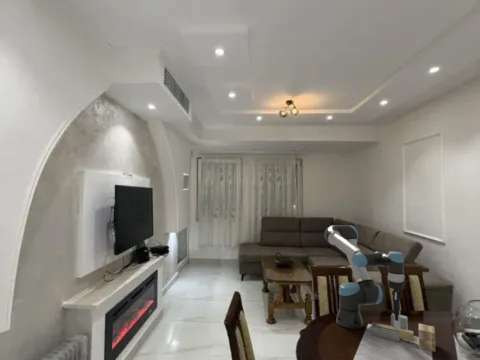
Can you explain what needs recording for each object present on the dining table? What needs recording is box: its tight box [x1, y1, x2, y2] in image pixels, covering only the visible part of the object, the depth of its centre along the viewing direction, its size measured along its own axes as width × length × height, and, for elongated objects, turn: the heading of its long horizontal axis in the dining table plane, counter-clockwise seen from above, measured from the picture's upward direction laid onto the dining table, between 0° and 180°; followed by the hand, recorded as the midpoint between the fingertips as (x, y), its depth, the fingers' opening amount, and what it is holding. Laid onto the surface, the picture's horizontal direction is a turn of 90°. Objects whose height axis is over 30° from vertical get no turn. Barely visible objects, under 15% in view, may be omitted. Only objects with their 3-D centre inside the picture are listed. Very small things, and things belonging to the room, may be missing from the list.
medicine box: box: [390, 313, 409, 330], centre depth 168 cm, size 8×4×9 cm, turn 47°
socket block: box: [418, 323, 436, 353], centre depth 151 cm, size 7×9×9 cm
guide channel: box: [369, 321, 401, 343], centre depth 161 cm, size 14×7×5 cm, turn 59°
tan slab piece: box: [375, 309, 414, 343], centre depth 159 cm, size 18×4×14 cm, turn 59°
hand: (397, 324), depth 159 cm, fingers closed on tan slab piece, 3 cm apart
